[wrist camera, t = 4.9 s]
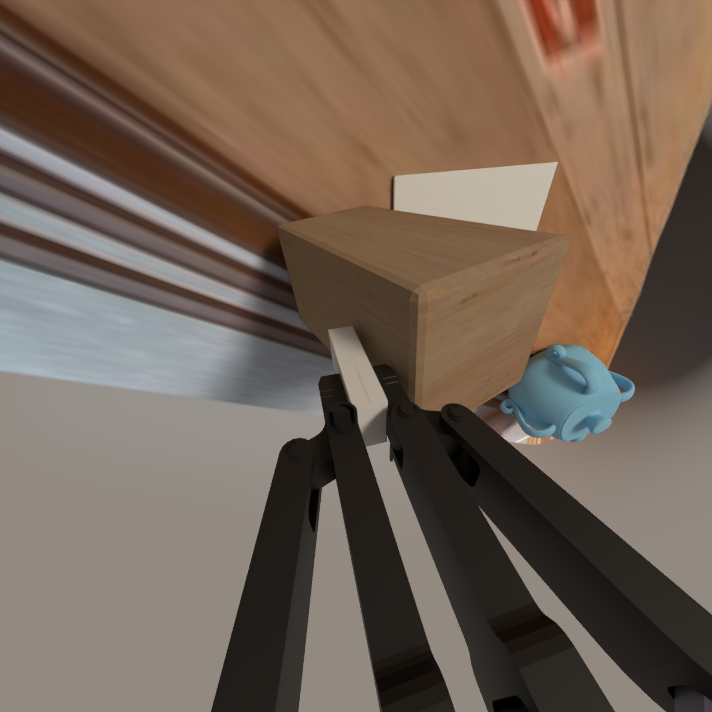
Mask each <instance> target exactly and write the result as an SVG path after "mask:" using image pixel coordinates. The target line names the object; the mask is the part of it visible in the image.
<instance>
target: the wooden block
mask: <svg viewBox="0 0 712 712" xmlns="http://www.w3.org/2000/svg"><path fill="white" fill-rule="evenodd" d="M277 232H278V236H279V239H280V243H281V247H282V251H283V255H284V258H285V262H286V266H287V270H288V273H289V277H290V281H291V285H292V289H293V292H294V296H295V300H296V304H297V307H298V311H299V315H300V318H301V320H302V321H303V322H304V323H305V324H306V325H307V326H308V327H309V329H310V330H311V331H312V332H313V333H314V334H315V335H316V337H317V338H318V339H319V340H320V341H321V342H322V343H323V344H324V346H325V347H326V348H327V349H328V350H329V351H330V352H331V347H330V340H329V332H328V330H330V329H336V328H342V327H348V326H353V328H354V330H355V332H356V334H357V337H358V339H359V341H360V343H361V345H362V347H363V349H364V351H365V353H366V356H367V358H368V360H369V362H370V364H371V366H377V365H382V364H386V365H388V366H389V367H390V368H392V369H393V371H394V373H395V375H396V377H397V378H398V380H399V382H400V383H401V385H402V387H403V389H404V390H405V392H406V394H407V396H408V397H409V399H410V401H411V402H413V403H415V404H416V405H418V406H419V407H420V409H424V410H431V411H441V409H442V407H443V406H444V405H446V404H449V403H457V404H461V405H463V406H465V407H467V408H468V409H469V410H471V411H472V410H474V409H475V408H477V407H479V406H480V405H482V404H483V403H485V402H487V401H488V400H490V399H492V398H493V397H495V396H497V395H498V394H500V393H502V392H503V391H505V390H507V389H508V388H510V387H511V386H513V385H515V384H516V383H518V382H519V381H520V380H521V379H522V376H523V373H524V370H525V368H526V365H527V362H528V359H529V356H530V354H531V351H532V348H533V345H534V342H535V339H536V337H537V334H538V331H539V328H540V325H541V323H542V320H543V317H544V314H545V311H546V308H547V306H548V303H549V300H550V297H551V294H552V292H553V289H554V286H555V283H556V280H557V277H558V275H559V272H560V269H561V266H562V263H563V261H564V258H565V255H566V252H567V249H568V246H569V239H568V238H566V237H564V236H562V235H558V234H552V233H545V232H538V231H531V230H525V229H518V228H511V227H505V226H498V225H491V224H484V223H478V222H471V221H464V220H457V219H451V218H444V217H437V216H431V215H424V214H417V213H410V212H404V211H397V210H390V209H384V208H377V207H370V206H363V207H359V208H354V209H349V210H345V211H340V212H335V213H331V214H326V215H321V216H317V217H312V218H307V219H303V220H298V221H293V222H289V223H284V224H281V225H279V226H278V230H277Z"/></svg>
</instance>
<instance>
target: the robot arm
mask: <svg viewBox="0 0 712 712" xmlns="http://www.w3.org/2000/svg"><path fill="white" fill-rule="evenodd" d="M328 332H329V340H330V347H331V355H332V363H333V368H334V372H335V374H333V375H328V376H323V377H321V378H320V381H319V384H318V385H319V391H320V396H321V402H322V407H323V413H324V418H325V426H324V428H323V430H322V431H321V432H320V433H319V434H318V435H317V436H315V437H314V438H312V439H310V440H306V439H303V438H297V439H292V440H291V441H289V442H287V443H286V444H285V445H284V446H283V447H282V449H281V451H280V453H279V457H278V461H277V464H276V468H275V472H274V476H273V479H272V483H271V487H270V491H269V495H268V498H267V502H266V506H265V510H264V513H263V517H262V521H261V525H260V529H259V532H258V536H257V540H256V544H255V548H254V551H253V555H252V559H251V563H250V566H249V570H248V574H247V578H246V581H245V586H244V589H243V593H242V597H241V600H240V604H239V608H238V612H237V616H236V619H235V623H234V627H233V631H232V634H231V638H230V642H229V646H228V649H227V653H226V657H225V661H224V665H223V668H222V672H221V676H220V680H219V683H218V688H217V691H216V695H215V699H214V702H213V707H212V710H211V712H298V709H299V700H300V691H301V681H302V671H303V662H304V653H305V643H306V634H307V624H308V615H309V605H310V596H311V586H312V577H313V567H314V558H315V548H316V539H317V530H318V520H319V511H320V502H321V492H322V487H323V486H325V485H327V484H328V483H330V482H331V481H333V480H334V479H336V481H337V487H338V492H339V497H340V503H341V508H342V513H343V518H344V524H345V529H346V534H347V539H348V545H349V550H350V555H351V560H352V566H353V570H354V575H355V581H356V586H357V591H358V596H359V602H360V607H361V613H362V617H363V623H364V628H365V634H366V638H367V644H368V649H369V654H370V660H371V664H372V670H373V675H374V680H375V686H376V691H377V696H378V702H379V707H380V712H455V710H454V707H453V703H452V700H451V698H450V695H449V692H448V689H447V686H446V683H445V680H444V678H443V676H442V673H441V671H440V669H439V666H438V665H437V663H436V661H435V659H434V657H433V654H432V652H431V650H430V646H429V643H428V640H427V637H426V635H425V631H424V628H423V625H422V622H421V618H420V615H419V613H418V609H417V606H416V603H415V600H414V597H413V594H412V591H411V587H410V584H409V581H408V578H407V575H406V572H405V568H404V565H403V562H402V559H401V556H400V553H399V550H398V546H397V543H396V540H395V537H394V534H393V531H392V528H391V525H390V522H389V518H388V515H387V512H386V509H385V506H384V503H383V500H382V497H381V493H380V490H379V487H378V484H377V481H376V478H375V474H374V471H373V468H372V465H371V462H370V459H369V456H368V453H367V449H366V446H370V445H374V444H379V443H383V442H386V441H387V436H388V439H389V441H390V461H393V459H394V461H395V464H396V466H397V469H398V471H399V474H400V476H401V479H402V482H403V484H404V487H405V489H406V492H407V494H408V497H409V499H410V502H411V504H412V507H413V509H414V512H415V514H416V517H417V519H418V522H419V525H420V527H421V530H422V532H423V534H424V537H425V540H426V542H427V545H428V547H429V549H430V552H431V555H432V557H433V560H434V562H435V565H436V567H437V570H438V573H439V575H440V578H441V580H442V583H443V585H444V588H445V590H446V593H447V595H448V598H449V600H450V603H451V605H452V608H453V610H454V613H455V615H456V618H457V620H458V623H459V626H460V628H461V631H462V633H463V636H464V638H465V641H466V643H467V646H468V649H469V653H470V658H471V665H472V668H473V672H474V675H475V678H476V681H477V684H478V686H479V689H480V692H481V694H482V697H483V700H484V702H485V705H486V707H487V710H488V712H615V711H614V710H613V708H612V706H611V705H610V703H609V702H608V700H607V698H606V696H605V695H604V693H603V692H602V690H601V689H600V687H599V685H598V684H597V682H596V680H595V679H594V677H593V675H592V674H591V673H590V671H589V669H588V667H587V666H586V664H585V663H584V661H583V659H582V658H581V656H580V654H579V653H578V651H577V650H576V648H575V646H574V645H573V643H572V642H571V641H570V639H569V638H568V637H567V635H566V633H565V632H564V631H563V630H562V629H561V628H560V627H559V626H558V625H557V623H556V622H554V621H553V620H551V619H550V618H549V617H547V616H546V615H545V614H543V612H542V611H541V610H540V609H539V607H538V606H537V604H536V603H535V601H534V600H533V598H532V596H531V594H530V593H529V591H528V589H527V588H526V586H525V584H524V583H523V581H522V579H521V578H520V576H519V574H518V573H517V571H516V569H515V567H514V566H513V564H512V563H511V561H510V559H509V557H508V555H507V554H506V552H505V550H504V549H503V547H502V545H501V544H500V542H499V541H498V539H497V537H496V535H495V533H494V532H493V530H492V529H491V527H490V525H489V523H488V522H487V520H486V518H485V517H484V515H483V513H482V512H481V510H480V508H481V509H482V510H483V511H484V512H485V514H486V515H487V516H488V517H489V518H490V520H491V521H492V522H493V523H494V524H495V525H496V526H497V528H498V529H499V530H500V531H501V532H502V533H503V535H504V536H505V537H506V538H507V539H508V540H509V541H510V543H511V544H512V545H513V546H514V547H515V548H516V549H517V551H518V552H519V553H520V554H521V555H522V556H523V558H524V559H525V560H526V561H527V562H528V563H529V564H530V566H531V567H532V568H533V569H534V570H535V571H536V573H537V574H538V575H539V576H540V577H541V578H542V579H543V581H544V582H545V583H546V584H547V585H548V586H549V588H550V589H551V590H552V591H553V592H554V593H555V594H556V596H557V597H558V598H559V599H560V600H561V601H562V603H563V604H564V605H565V606H566V607H567V608H568V609H569V611H570V612H571V613H572V614H573V615H574V616H575V617H576V619H577V620H578V621H579V622H580V623H581V624H582V626H583V627H584V628H585V629H586V630H587V631H588V633H589V634H590V635H591V636H592V637H593V638H594V639H595V641H596V642H597V643H598V644H599V645H600V646H601V648H602V649H603V650H604V651H605V652H606V653H607V654H608V655H609V656H610V657H611V659H613V661H614V662H615V663H616V664H617V665H618V666H619V667H620V668H621V669H622V671H623V672H624V673H625V674H626V675H627V676H628V677H629V678H630V679H632V681H633V682H635V683H636V684H637V685H638V686H639V687H640V688H641V689H642V690H643V691H644V692H645V693H646V694H647V695H648V696H649V697H650V698H651V699H652V700H653V701H655V702H656V703H657V704H658V705H659V706H660V707H661V708H663V709H664V710H665V711H666V712H712V615H711V614H710V613H709V612H708V611H707V610H705V609H704V608H703V607H702V606H701V605H700V604H698V603H697V602H696V601H695V600H693V599H692V598H691V597H690V596H689V595H687V593H685V592H684V591H683V590H682V589H681V588H679V587H678V586H677V585H676V584H675V583H674V582H672V581H671V580H670V579H669V578H668V577H666V576H665V575H664V574H663V573H662V572H660V571H659V570H658V569H657V568H656V567H655V566H653V565H652V564H651V563H650V562H649V561H647V560H646V559H645V558H644V557H643V556H642V555H640V554H639V553H638V552H637V551H636V550H635V549H633V548H632V547H631V546H630V545H629V544H627V543H626V542H625V541H624V540H623V539H622V538H620V537H619V536H618V535H617V534H616V533H615V532H613V531H612V530H611V529H610V528H609V527H607V526H606V525H605V524H604V523H603V522H601V521H600V520H599V519H598V518H597V517H596V516H594V515H593V514H592V513H591V512H590V511H589V510H587V509H586V508H585V507H584V506H582V505H581V504H580V503H579V502H578V501H577V500H576V499H574V498H573V497H572V496H571V495H570V494H568V493H567V492H566V491H565V490H564V489H562V488H561V487H560V486H559V485H558V484H557V483H555V482H554V481H553V480H552V479H551V478H550V477H548V476H547V475H546V474H545V473H544V472H543V471H541V470H540V469H539V468H538V467H537V466H535V465H534V464H533V463H532V462H531V461H529V460H528V459H527V458H526V457H525V456H524V455H522V454H521V453H520V452H519V451H518V450H516V449H515V448H514V447H513V446H512V445H511V444H509V443H508V442H507V441H506V440H505V439H504V438H502V437H501V436H500V435H499V434H498V433H497V432H495V431H494V430H493V429H492V428H491V427H489V426H488V425H487V424H486V423H485V422H484V421H482V420H481V419H480V418H479V417H478V416H476V415H475V414H474V413H473V412H472V411H471V410H469V409H468V408H467V407H465V406H463V405H461V404H457V403H449V404H446V405H444V406H443V407H442V409H441V411H431V410H424V409H420V407H419V406H418V405H416V404H415V403H413V402H411V401H410V399H409V397H408V396H407V394H406V392H405V390H404V389H403V387H402V385H401V383H400V382H399V380H398V378H397V377H396V375H395V373H394V371H393V369H392V368H390V367H389V366H388V365H386V364H382V365H377V366H371V364H370V362H369V360H368V358H367V356H366V353H365V351H364V349H363V347H362V345H361V343H360V341H359V339H358V337H357V334H356V332H355V330H354V328H353V326H348V327H342V328H336V329H330V330H328ZM479 507H480V508H479Z"/></svg>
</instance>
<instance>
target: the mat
mask: <svg viewBox="0 0 712 712" xmlns="http://www.w3.org/2000/svg"><path fill="white" fill-rule="evenodd" d="M557 163H558V162H552V163H540V164H528V165H517V166H505V167H494V168H482V169H470V170H459V171H447V172H436V173H424V174H412V175H401V176H393V210H397V211H404V212H410V213H417V214H424V215H431V216H437V217H444V218H451V219H457V220H464V221H471V222H478V223H484V224H491V225H498V226H505V227H511V228H518V229H525V230H531V231H536V230H537V227H538V224H539V220H540V217H541V214H542V211H543V208H544V204H545V201H546V198H547V195H548V192H549V189H550V185H551V182H552V179H553V176H554V173H555V170H556V166H557Z"/></svg>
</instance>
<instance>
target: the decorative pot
mask: <svg viewBox="0 0 712 712" xmlns="http://www.w3.org/2000/svg"><path fill="white" fill-rule="evenodd" d="M617 385H619V386H621V387H623V388H624V389H625V390H626V391H625V392H623V393H620V390H619V388H618V386H617ZM634 390H635V387H634V384H633V383H632V382H631V381H630V380H629V379H627V378H625V377H623V376H621V375H618V374H616V373H613V372H610V371H608V370H607V369H606V367H605V364H604V363H603V362H602V361H600V360H598V359H597V358H596V357H595V356H594V355H593V354H592V353H590V352H589V351H588V350H586V349H585V348H583V347H580V346H577V345H559V344H553V345H551V346H549V347H548V348H547V350H545V351H542V352H540V353H538V354H536V355H534V356H532V357H531V358H529V359H528V362H527V365H526V368H525V370H524V373H523V376H522V379H521V380H520V381H519V382H518V383H516V384H515V385H513V386H511V387H510V388H508V396H509V399H505V400H503V401H502V402H501V404H500V409H501V410H502V412H504V413H505V414H512V413H513V412H514V413H515V416H516V418H517V421H518V423H519V425H520V427H521V428H522V430H523V431H524V432H525V433H526V434H528V435H529V436H532V437H536V438H543V437H548V436H552V437H555V438H557V439H560V440H563V441H571V442H578V441H581V440H583V439H584V438H585V436H586V434H588V433H590V432H591V433H592V434H597V433H600V432H602V431H604V430H605V429H607V428H608V427H609V426H610V424H611V422H612V420H611V419H610V418H611V417H612V416H613V415H614V413H615V412H616V410H617V408H618V406H619V404H620V402H623V401H626V400H628V399H629V398H631V397H632V395H633V393H634ZM507 406H510V407H511V408H510V409H508V408H506V407H507ZM526 423H527V424H528V425H530V426H532V427H533V428H535V429H537V430H535V429H532V428H530V427H529V426H528V425H527V424H526Z"/></svg>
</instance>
